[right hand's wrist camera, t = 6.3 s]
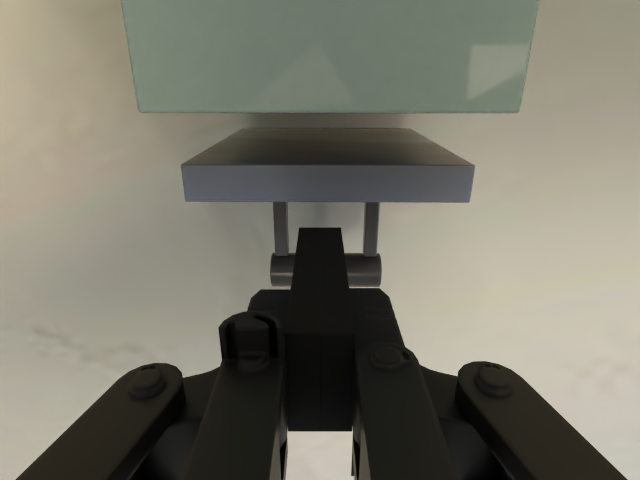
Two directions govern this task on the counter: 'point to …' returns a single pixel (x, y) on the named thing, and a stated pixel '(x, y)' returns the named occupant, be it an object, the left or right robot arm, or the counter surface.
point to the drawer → (327, 180)
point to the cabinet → (329, 55)
